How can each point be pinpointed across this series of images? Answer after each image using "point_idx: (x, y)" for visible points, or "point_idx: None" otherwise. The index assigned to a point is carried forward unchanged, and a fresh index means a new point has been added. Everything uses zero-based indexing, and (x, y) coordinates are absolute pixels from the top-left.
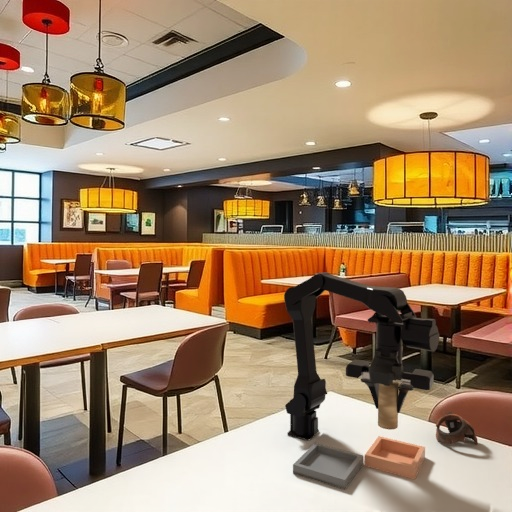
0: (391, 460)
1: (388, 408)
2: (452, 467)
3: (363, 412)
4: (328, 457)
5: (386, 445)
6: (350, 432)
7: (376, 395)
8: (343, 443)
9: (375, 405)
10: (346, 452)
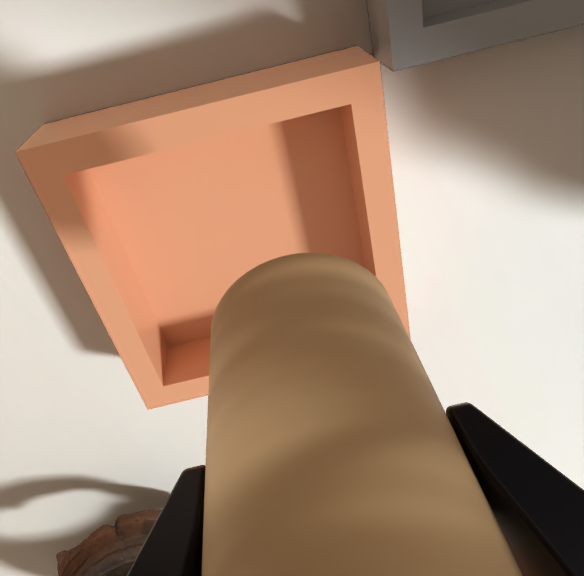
0: (190, 128)
1: (274, 437)
2: (21, 384)
3: None
4: None
5: None
6: (575, 338)
7: (561, 572)
8: (575, 216)
9: (493, 423)
10: (516, 14)
